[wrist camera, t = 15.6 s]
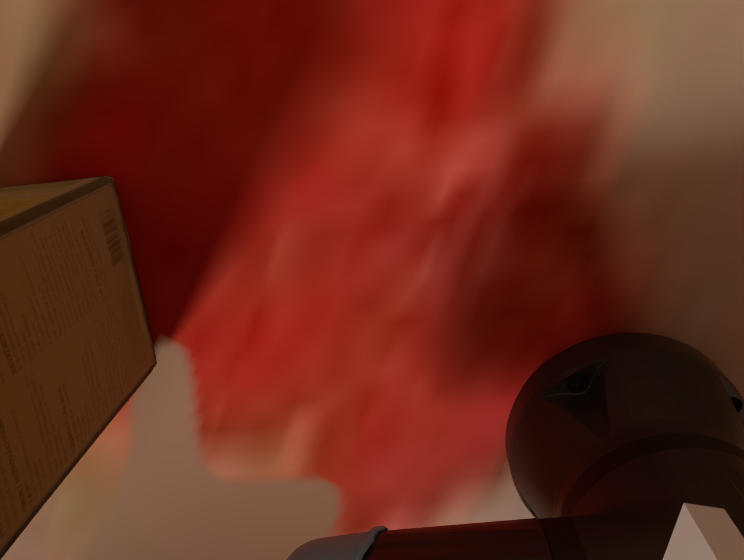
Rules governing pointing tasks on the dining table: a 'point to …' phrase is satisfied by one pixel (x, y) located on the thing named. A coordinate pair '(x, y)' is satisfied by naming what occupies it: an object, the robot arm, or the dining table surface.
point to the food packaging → (62, 335)
